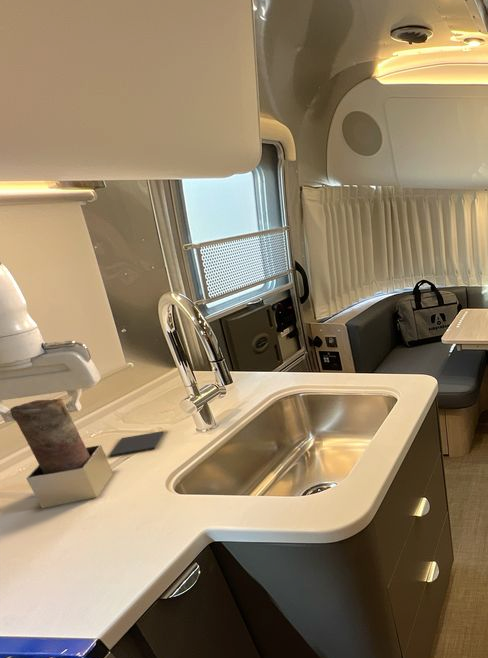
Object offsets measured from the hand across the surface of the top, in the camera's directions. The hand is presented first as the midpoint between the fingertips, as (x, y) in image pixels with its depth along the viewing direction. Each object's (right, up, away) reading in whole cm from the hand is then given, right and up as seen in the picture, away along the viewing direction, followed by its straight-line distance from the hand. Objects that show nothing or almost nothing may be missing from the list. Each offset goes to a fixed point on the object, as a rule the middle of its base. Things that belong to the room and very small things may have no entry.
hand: (44, 415), depth 93 cm
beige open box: (0, -16, +7) cm, 17 cm away
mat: (-2, -8, +24) cm, 25 cm away
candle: (0, -16, +7) cm, 17 cm away
